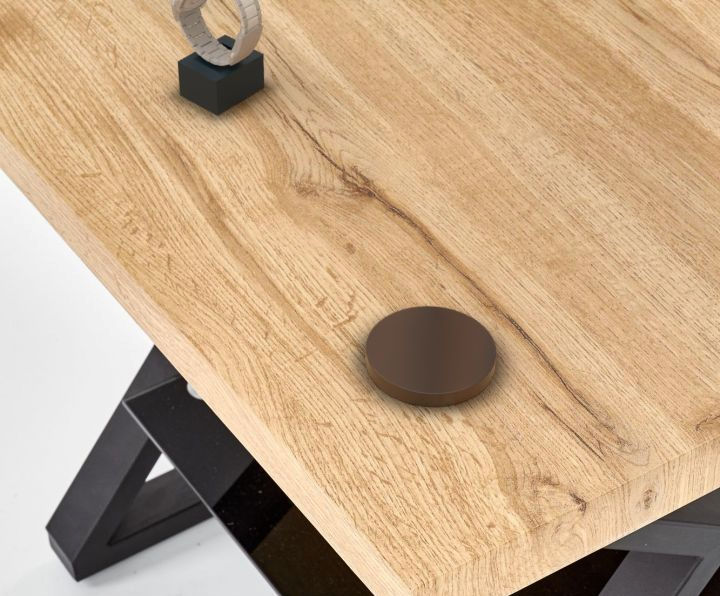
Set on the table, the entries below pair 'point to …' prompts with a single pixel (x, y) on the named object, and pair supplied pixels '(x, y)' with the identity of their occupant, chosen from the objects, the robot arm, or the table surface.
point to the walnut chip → (430, 356)
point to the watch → (219, 57)
